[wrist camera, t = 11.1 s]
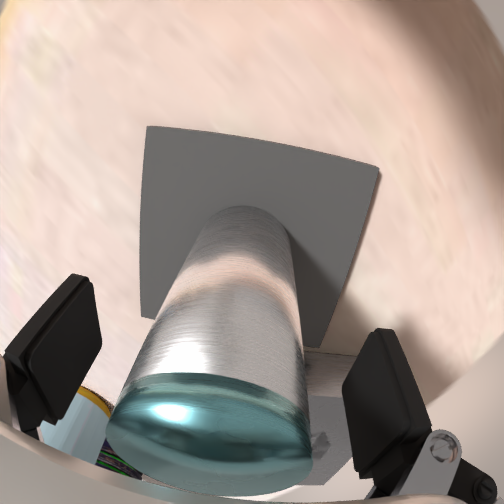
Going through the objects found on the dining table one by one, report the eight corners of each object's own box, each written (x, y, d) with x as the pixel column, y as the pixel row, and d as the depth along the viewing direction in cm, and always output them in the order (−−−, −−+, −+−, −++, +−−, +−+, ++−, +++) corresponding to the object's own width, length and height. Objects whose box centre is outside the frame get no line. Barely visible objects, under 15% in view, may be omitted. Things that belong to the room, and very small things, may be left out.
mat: (151, 125, 15) (146, 126, 14) (375, 166, 15) (379, 168, 14) (144, 311, 20) (141, 316, 19) (318, 342, 20) (319, 347, 19)
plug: (203, 198, 16) (84, 381, 5) (299, 215, 16) (348, 427, 5) (194, 280, 18) (123, 473, 7) (279, 295, 18) (282, 501, 7)
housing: (171, 328, 20) (155, 369, 17) (387, 358, 21) (401, 397, 17) (173, 437, 27) (165, 468, 23) (320, 455, 27) (323, 485, 24)
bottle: (123, 410, 26) (78, 535, 12) (102, 426, 28) (62, 529, 15) (65, 370, 24) (0, 491, 10) (52, 393, 26) (0, 492, 13)
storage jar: (118, 467, 34) (93, 544, 21) (68, 433, 31) (32, 514, 17) (161, 466, 32) (139, 559, 18) (105, 428, 28) (66, 531, 15)
